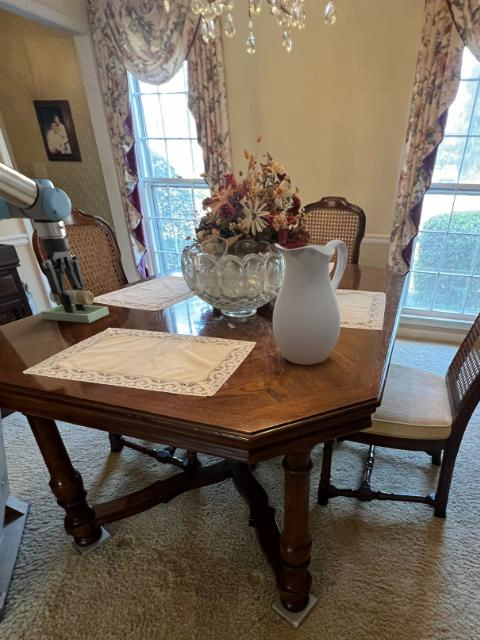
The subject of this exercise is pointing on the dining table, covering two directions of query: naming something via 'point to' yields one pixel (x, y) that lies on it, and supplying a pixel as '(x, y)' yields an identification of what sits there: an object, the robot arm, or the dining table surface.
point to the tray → (75, 313)
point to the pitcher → (309, 303)
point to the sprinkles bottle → (75, 297)
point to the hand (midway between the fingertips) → (75, 312)
